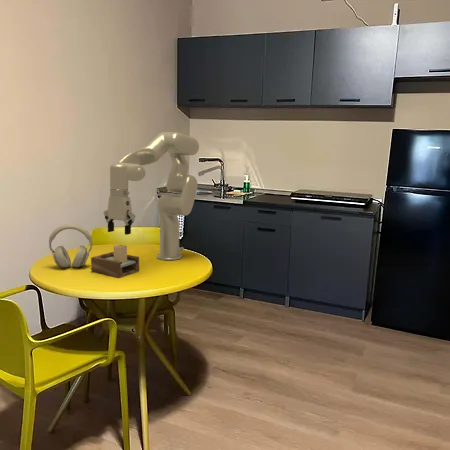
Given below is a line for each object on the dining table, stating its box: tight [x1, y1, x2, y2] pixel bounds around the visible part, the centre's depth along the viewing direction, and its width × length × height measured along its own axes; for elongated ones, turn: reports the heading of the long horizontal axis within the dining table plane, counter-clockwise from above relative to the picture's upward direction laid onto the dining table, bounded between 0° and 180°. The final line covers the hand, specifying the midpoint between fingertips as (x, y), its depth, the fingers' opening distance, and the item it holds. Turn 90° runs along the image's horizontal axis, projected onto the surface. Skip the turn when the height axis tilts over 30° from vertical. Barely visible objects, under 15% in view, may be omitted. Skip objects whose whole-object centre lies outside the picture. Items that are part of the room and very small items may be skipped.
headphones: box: [48, 223, 93, 269], centre depth 206 cm, size 18×10×20 cm, turn 100°
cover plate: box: [105, 244, 136, 268], centre depth 201 cm, size 10×14×8 cm
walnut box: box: [90, 251, 140, 279], centre depth 202 cm, size 13×16×7 cm
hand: (119, 232), depth 197 cm, fingers open, 9 cm apart
